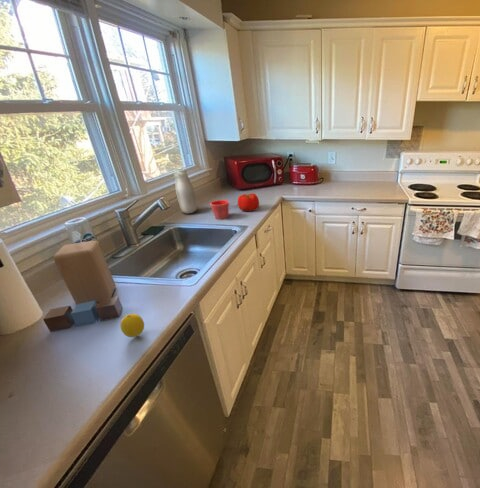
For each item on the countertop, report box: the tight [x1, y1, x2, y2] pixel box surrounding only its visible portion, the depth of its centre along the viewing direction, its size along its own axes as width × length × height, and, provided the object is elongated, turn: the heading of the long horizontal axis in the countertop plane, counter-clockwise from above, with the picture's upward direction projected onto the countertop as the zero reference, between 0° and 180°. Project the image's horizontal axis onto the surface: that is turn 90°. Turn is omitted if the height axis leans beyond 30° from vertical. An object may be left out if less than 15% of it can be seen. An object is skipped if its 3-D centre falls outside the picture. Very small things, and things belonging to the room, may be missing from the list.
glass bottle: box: [173, 168, 198, 215], centre depth 177 cm, size 10×10×28 cm
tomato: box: [237, 192, 260, 212], centre depth 186 cm, size 14×13×10 cm
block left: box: [42, 305, 75, 333], centre depth 87 cm, size 5×5×5 cm
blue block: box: [71, 301, 100, 327], centre depth 89 cm, size 5×5×5 cm
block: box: [53, 240, 116, 306], centre depth 97 cm, size 10×10×20 cm
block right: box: [95, 295, 124, 322], centre depth 91 cm, size 5×5×5 cm
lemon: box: [120, 313, 145, 338], centre depth 82 cm, size 6×6×8 cm
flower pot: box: [209, 199, 230, 220], centre depth 173 cm, size 11×11×10 cm
